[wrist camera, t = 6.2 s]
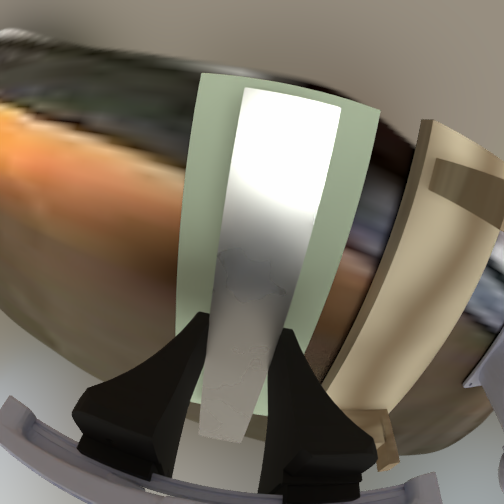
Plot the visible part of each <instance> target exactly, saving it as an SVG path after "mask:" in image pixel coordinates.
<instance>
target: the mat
mask: <svg viewBox="0 0 504 504" xmlns="http://www.w3.org/2000/svg"><path fill="white" fill-rule="evenodd" d="M245 87H246V88H253V89H260V90H266V91H271V92H277V93H282V94H287V95H292V96H296V97H301V98H305V99H310V100H314V101H318V102H322V103H325V104H329V105H333V106H336V107H340V108H341V112H340V116H339V121H338V126H337V131H336V135H335V140H334V145H333V149H332V153H331V158H330V162H329V166H328V171H327V175H326V179H325V183H324V187H323V191H322V195H321V199H320V203H319V207H318V211H317V215H316V218H315V222H314V226H313V229H312V233H311V237H310V240H309V244H308V248H307V251H306V255H305V258H304V262H303V265H302V268H301V272H300V275H299V279H298V282H297V285H296V288H295V292H294V295H293V298H292V301H291V305H290V308H289V311H288V314H287V317H286V320H285V323H284V326H283V328H289V329H293V331H294V333H295V336H296V338H297V340H298V343H299V345H300V347H301V350H302V352H303V354H304V353H305V351H306V348H307V346H308V344H309V341H310V339H311V337H312V334H313V332H314V329H315V327H316V324H317V322H318V319H319V317H320V314H321V312H322V309H323V307H324V304H325V302H326V299H327V296H328V294H329V291H330V288H331V285H332V283H333V280H334V277H335V274H336V272H337V269H338V266H339V263H340V260H341V257H342V254H343V251H344V248H345V245H346V242H347V239H348V236H349V232H350V229H351V226H352V223H353V220H354V216H355V213H356V209H357V206H358V202H359V199H360V195H361V192H362V188H363V184H364V181H365V177H366V173H367V169H368V165H369V161H370V157H371V153H372V148H373V144H374V140H375V135H376V130H377V126H378V121H379V116H380V111H381V110H378V109H375V108H373V107H370V106H367V105H364V104H361V103H358V102H355V101H351V100H348V99H345V98H342V97H338V96H335V95H331V94H327V93H324V92H320V91H316V90H312V89H307V88H303V87H299V86H294V85H289V84H284V83H279V82H274V81H268V80H262V79H255V78H248V77H241V76H232V75H223V74H211V73H202V74H201V79H200V84H199V89H198V94H197V100H196V105H195V111H194V117H193V123H192V130H191V136H190V143H189V150H188V158H187V166H186V174H185V182H184V191H183V201H182V212H181V223H180V236H179V250H178V267H177V289H176V336H177V335H178V334H179V333H180V332H181V331H182V330H183V329H184V328H185V326H186V325H187V324H188V323H189V322H190V321H191V320H192V318H193V317H194V316H195V315H196V313H197V312H199V311H200V312H205V313H209V314H210V308H211V300H212V291H213V283H214V275H215V268H216V260H217V253H218V245H219V238H220V231H221V224H222V217H223V211H224V204H225V198H226V191H227V185H228V179H229V172H230V166H231V160H232V154H233V149H234V143H235V137H236V132H237V126H238V120H239V115H240V110H241V104H242V99H243V94H244V89H245ZM204 364H205V363H204ZM203 375H204V366H203V369H202V371H201V374H200V377H199V379H198V382H197V384H196V387H195V390H194V392H193V395H192V397H191V400H190V401H191V402H195V403H199V404H201V397H202V386H203ZM267 375H268V373H267ZM253 414H258V415H266V416H268V387H267V376H266V379H265V382H264V384H263V387H262V390H261V393H260V395H259V398H258V401H257V403H256V406H255V409H254V411H253Z"/></svg>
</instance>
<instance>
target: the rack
mask: <svg viewBox="0 0 504 504" xmlns="http://www.w3.org/2000/svg"><path fill="white" fill-rule="evenodd" d="M500 230H501V231H503V232H504V161H502V160H501V159H499V158H498V157H496V156H495V155H493V154H492V153H490V152H489V151H487V150H486V149H484V148H483V147H481V146H480V145H478V144H477V143H475V142H473V141H471V140H470V139H468V138H467V137H465V136H463V135H461V134H460V133H458V132H456V131H454V130H452V129H451V128H448V127H447V126H445V125H443V124H441V123H439V122H437V121H435V120H424V119H423V120H421V125H420V130H419V135H418V140H417V144H416V149H415V153H414V157H413V161H412V165H411V169H410V173H409V177H408V181H407V184H406V188H405V191H404V195H403V198H402V201H401V205H400V208H399V211H398V214H397V217H396V220H395V223H394V226H393V229H392V232H391V235H390V238H389V241H388V243H387V246H386V249H385V252H384V254H383V257H382V259H381V262H380V265H379V267H378V270H377V272H376V275H375V277H374V279H373V282H372V284H371V287H370V289H369V291H368V294H367V296H366V298H365V300H364V303H363V305H362V307H361V309H360V311H359V314H358V316H357V318H356V320H355V322H354V324H353V326H352V328H351V330H350V332H349V334H348V336H347V338H346V340H345V342H344V344H343V346H342V348H341V350H340V352H339V354H338V356H337V358H336V359H335V361H334V363H333V365H332V367H331V369H330V370H329V372H328V374H327V376H326V377H325V379H324V381H323V383H322V384H321V386H322V387H323V388H324V390H325V391H326V393H327V394H328V395H329V396H330V398H331V399H332V400H333V401H334V403H335V404H336V405H337V406H338V407H339V408H340V409H341V410H342V411H343V412H344V414H345V415H346V416H347V417H349V418H350V419H351V420H352V421H353V422H354V423H355V424H356V425H357V426H359V427H360V428H361V429H362V430H364V431H365V432H366V433H368V434H369V435H370V436H372V437H373V438H374V442H375V445H376V449H377V454H378V460H377V462H376V463H377V469H378V472H380V471H387V470H390V469H391V468H393V467H394V466H395V465H397V464H398V463H399V462H400V460H399V455H398V451H397V447H396V442H395V438H394V434H393V430H392V426H391V422H390V418H389V413H390V411H391V410H392V409H393V408H394V407H395V406H396V405H397V404H398V403H399V401H400V400H401V399H402V398H403V397H404V396H405V394H406V393H407V392H408V391H409V390H410V388H411V387H412V386H413V385H414V383H415V382H416V381H417V380H418V378H419V377H420V376H421V374H422V373H423V372H424V370H425V369H426V368H427V366H428V365H429V364H430V362H431V361H432V359H433V358H434V357H435V355H436V354H437V352H438V351H439V349H440V348H441V346H442V345H443V343H444V342H445V340H446V339H447V337H448V336H449V334H450V333H451V331H452V329H453V328H454V326H455V324H456V323H457V321H458V319H459V318H460V316H461V314H462V312H463V311H464V309H465V307H466V305H467V303H468V301H469V300H470V298H471V296H472V294H473V292H474V290H475V288H476V286H477V284H478V282H479V280H480V278H481V275H482V273H483V271H484V269H485V267H486V264H487V262H488V260H489V257H490V255H491V252H492V250H493V247H494V245H495V242H496V240H497V237H498V234H499V231H500Z"/></svg>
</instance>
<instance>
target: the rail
mask: <svg viewBox="0 0 504 504" xmlns="http://www.w3.org/2000/svg"><path fill="white" fill-rule="evenodd" d="M340 112H341V108H340V107H336V106H333V105H329V104H325V103H322V102H318V101H314V100H310V99H305V98H301V97H296V96H292V95H287V94H282V93H277V92H271V91H266V90H260V89H253V88H246V87H245V89H244V94H243V99H242V104H241V110H240V115H239V120H238V126H237V132H236V137H235V143H234V149H233V154H232V160H231V166H230V172H229V179H228V185H227V191H226V198H225V204H224V211H223V217H222V224H221V231H220V238H219V245H218V253H217V260H216V268H215V275H214V283H213V291H212V300H211V308H210V317H209V321H210V322H209V331H208V340H207V349H206V359H205V364H204V375H203V386H202V397H201V409H200V422H199V435H200V436H205V437H209V438H214V439H219V440H225V441H231V442H237V443H241V442H242V439H243V437H244V434H245V432H246V429H247V427H248V424H249V421H250V419H251V416H252V414H253V411H254V409H255V406H256V403H257V401H258V398H259V395H260V393H261V390H262V387H263V384H264V382H265V379H266V376H267V373H268V369H269V366H270V364H271V361H272V358H273V355H274V352H275V349H276V346H277V343H278V340H279V337H280V335H281V333H282V330H283V326H284V323H285V320H286V317H287V314H288V311H289V308H290V305H291V301H292V298H293V295H294V292H295V288H296V285H297V282H298V279H299V275H300V272H301V268H302V265H303V262H304V258H305V255H306V251H307V248H308V244H309V240H310V237H311V233H312V229H313V226H314V222H315V218H316V215H317V211H318V207H319V203H320V199H321V195H322V191H323V187H324V183H325V179H326V175H327V171H328V166H329V162H330V158H331V153H332V149H333V145H334V140H335V135H336V131H337V126H338V121H339V116H340Z"/></svg>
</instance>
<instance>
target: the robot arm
mask: <svg viewBox="0 0 504 504" xmlns="http://www.w3.org/2000/svg"><path fill="white" fill-rule="evenodd" d="M209 317H210V314H209V313H205V312H200V311H199V312H197V313H196V315H195V316H194V317H193V318H192V320H191V321H190V322H189V323H188V324H187V325H186V326H185V328H184V329H183V330H182V331H181V332H180V333H179V334H178V335H177V336H176V337H175V338H174V339H172V340H171V341H170V342H169V343H168V344H167V345H166V346H164V347H163V348H162V349H161V350H160V351H158V352H157V353H156V354H154V355H153V356H152V357H150V358H149V359H147V360H146V361H145V362H143V363H141V364H140V365H138V366H136V367H135V368H133V369H131V370H130V371H128V372H126V373H124V374H121V375H119V376H117V377H115V378H113V379H111V380H108V381H106V382H103V383H100V384H98V385H95V386H92V387H89V388H87V390H86V391H85V392H84V393H83V395H82V396H81V397H80V399H79V400H78V402H77V404H76V406H75V407H74V409H73V411H72V417H73V419H74V421H75V423H76V424H77V426H78V427H79V428H80V430H81V432H82V433H83V435H82V437H81V439H80V442H79V443H78V442H77V441H74V440H73V439H71V438H69V437H67V436H65V435H63V434H62V433H60V432H58V431H56V430H55V429H53V428H51V427H50V426H48V425H46V424H45V423H43V422H41V421H40V420H38V419H37V418H36V416H35V415H34V414H33V412H32V411H31V410H30V409H29V408H28V407H26V406H25V405H24V404H22V403H21V402H20V401H18V400H17V399H15V398H14V397H12V396H9V397H8V399H7V400H6V402H5V403H4V405H3V406H2V408H1V409H0V445H1V446H2V447H3V448H4V449H5V450H6V451H8V452H9V453H10V454H11V455H12V456H13V457H15V458H16V459H17V460H19V461H20V462H21V463H23V464H24V465H25V466H27V467H28V468H30V469H31V470H32V471H34V472H35V473H37V474H38V475H39V476H41V477H42V478H44V479H45V480H47V481H49V482H50V483H52V484H53V485H55V486H57V487H58V488H60V489H62V490H63V491H65V492H67V493H69V494H70V495H72V496H74V497H76V498H78V499H80V500H81V501H83V502H85V503H87V504H442V499H441V495H440V490H439V485H438V481H437V477H436V473H435V472H431V473H428V474H424V475H421V476H417V477H414V478H412V479H410V480H408V481H407V482H405V483H404V484H401V485H396V486H391V487H386V488H380V489H375V490H368V491H361V492H360V489H359V482H361V481H362V475H361V473H363V472H364V471H366V470H367V469H369V468H370V467H371V466H373V465H374V464H375V463H376V462H377V460H378V454H377V449H376V445H375V442H374V438H373V437H372V436H370V435H369V434H368V433H366V432H365V431H364V430H362V429H361V428H360V427H359V426H357V425H356V424H355V423H354V422H353V421H352V420H351V419H350V418H349V417H347V416H346V415H345V414H344V412H343V411H342V410H341V409H340V408H339V407H338V406H337V405H336V404H335V403H334V401H333V400H332V399H331V398H330V396H329V395H328V394H327V393H326V391H325V390H324V388H323V387H322V386H321V384H320V382H319V381H318V379H317V378H316V376H315V374H314V373H313V371H312V369H311V367H310V366H309V364H308V362H307V360H306V358H305V356H304V354H303V352H302V350H301V347H300V345H299V343H298V340H297V338H296V336H295V333H294V331H293V329H289V328H283V330H282V333H281V335H280V337H279V340H278V343H277V346H276V349H275V352H274V355H273V358H272V361H271V364H270V366H269V369H268V375H267V387H268V424H267V433H266V442H265V451H264V458H263V464H262V471H261V477H260V483H259V488H258V493H247V492H238V491H231V490H224V489H217V488H212V487H206V486H202V485H197V484H192V483H188V482H184V481H180V480H176V479H172V474H173V469H174V464H175V459H176V455H177V450H178V446H179V441H180V437H181V433H182V429H183V425H184V421H185V417H186V413H187V409H188V406H189V403H190V400H191V397H192V395H193V392H194V390H195V387H196V384H197V382H198V379H199V377H200V374H201V371H202V369H203V366H204V363H205V359H206V349H207V340H208V331H209V322H210V321H209ZM475 386H482V387H483V389H484V391H485V393H486V395H487V397H488V399H489V401H490V403H491V405H492V407H493V409H494V411H495V413H496V416H497V418H498V420H499V422H500V424H501V427H502V429H503V432H504V327H503V328H502V330H501V332H500V333H499V335H498V336H497V338H496V339H495V341H494V342H493V344H492V345H491V347H490V348H489V350H488V351H487V353H486V354H485V355H484V357H483V358H482V360H481V361H480V362H479V364H478V365H477V366H476V368H475V369H474V370H473V371H472V373H471V374H470V375H469V376H468V378H467V379H466V380H465V381H464V383H463V387H464V388H468V387H475ZM502 448H503V450H504V446H503V447H502ZM498 477H499V483H500V487H501V489H502V491H503V493H504V453H503V455H502V457H501V460H500V464H499V469H498ZM140 486H141V487H140ZM143 487H144V488H147V489H150V490H153V491H157V492H160V493H163V494H167V495H171V496H166V497H164V496H160V495H156V494H152V493H148V492H145V489H144V488H143ZM172 496H174V497H172Z"/></svg>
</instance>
